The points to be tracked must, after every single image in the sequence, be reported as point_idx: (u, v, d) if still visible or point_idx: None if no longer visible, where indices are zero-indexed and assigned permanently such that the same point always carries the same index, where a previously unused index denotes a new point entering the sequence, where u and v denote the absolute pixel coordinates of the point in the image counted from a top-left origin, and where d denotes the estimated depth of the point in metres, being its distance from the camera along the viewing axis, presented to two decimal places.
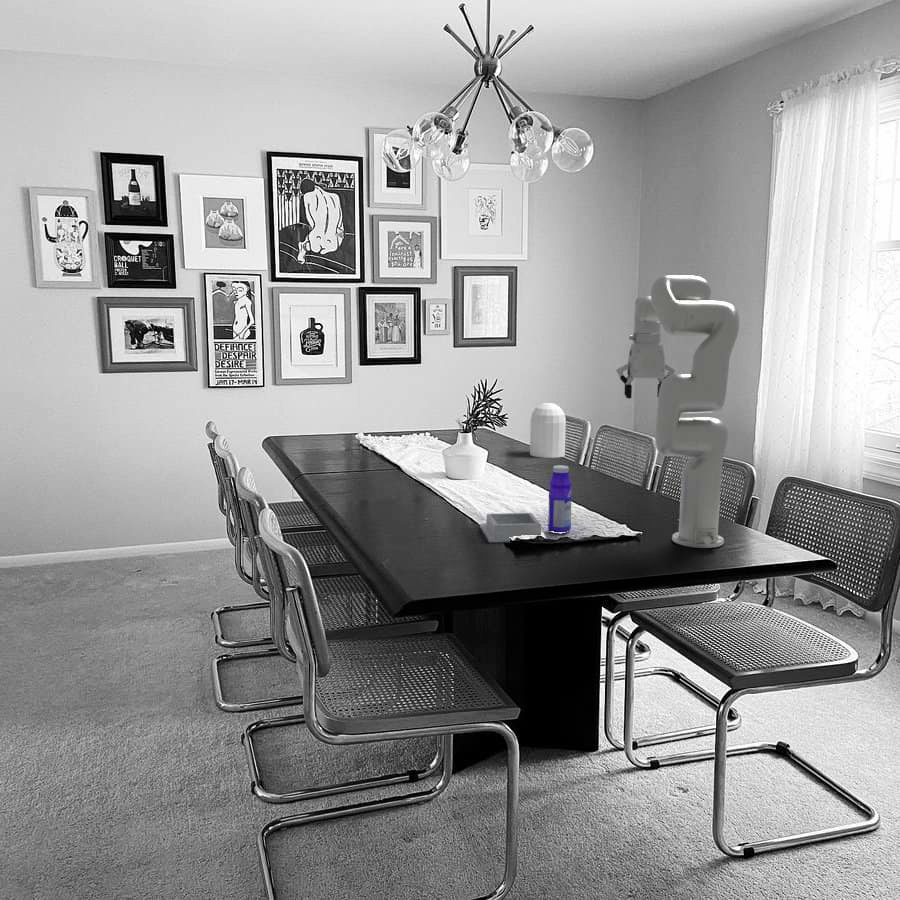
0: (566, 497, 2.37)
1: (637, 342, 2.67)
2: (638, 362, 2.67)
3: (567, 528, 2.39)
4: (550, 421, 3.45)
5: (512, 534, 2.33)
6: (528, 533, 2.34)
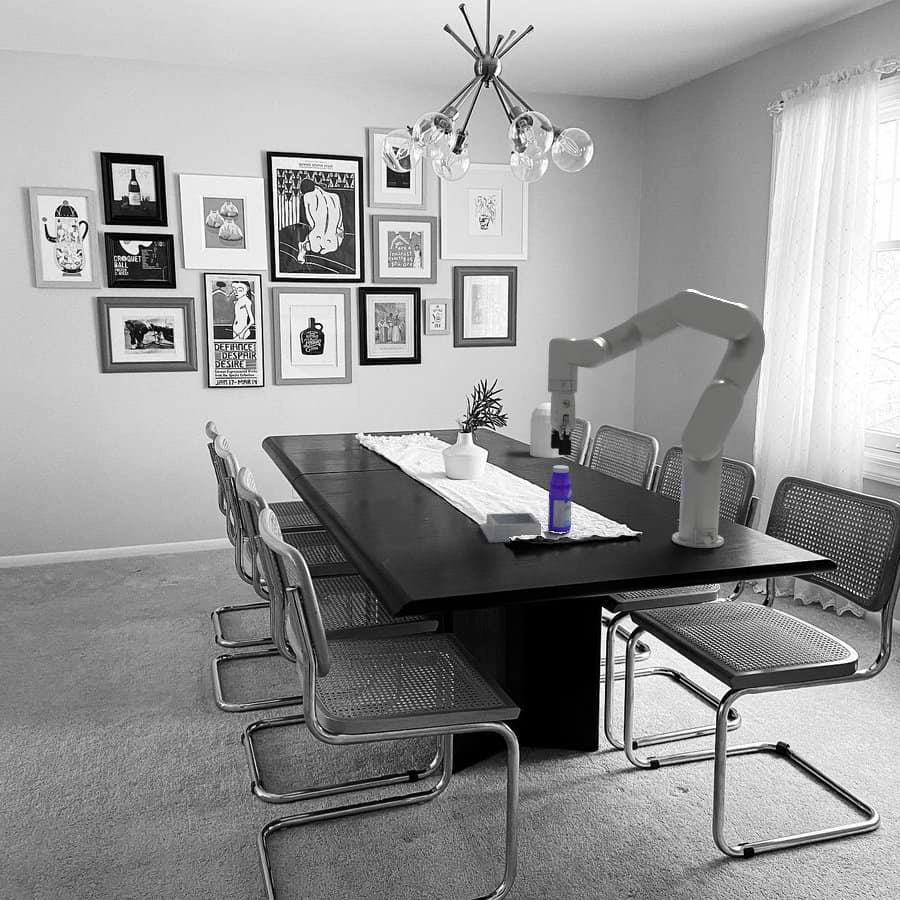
0: (566, 497, 2.37)
1: (571, 390, 2.35)
2: None
3: (567, 528, 2.39)
4: None
5: (512, 534, 2.33)
6: (528, 533, 2.34)
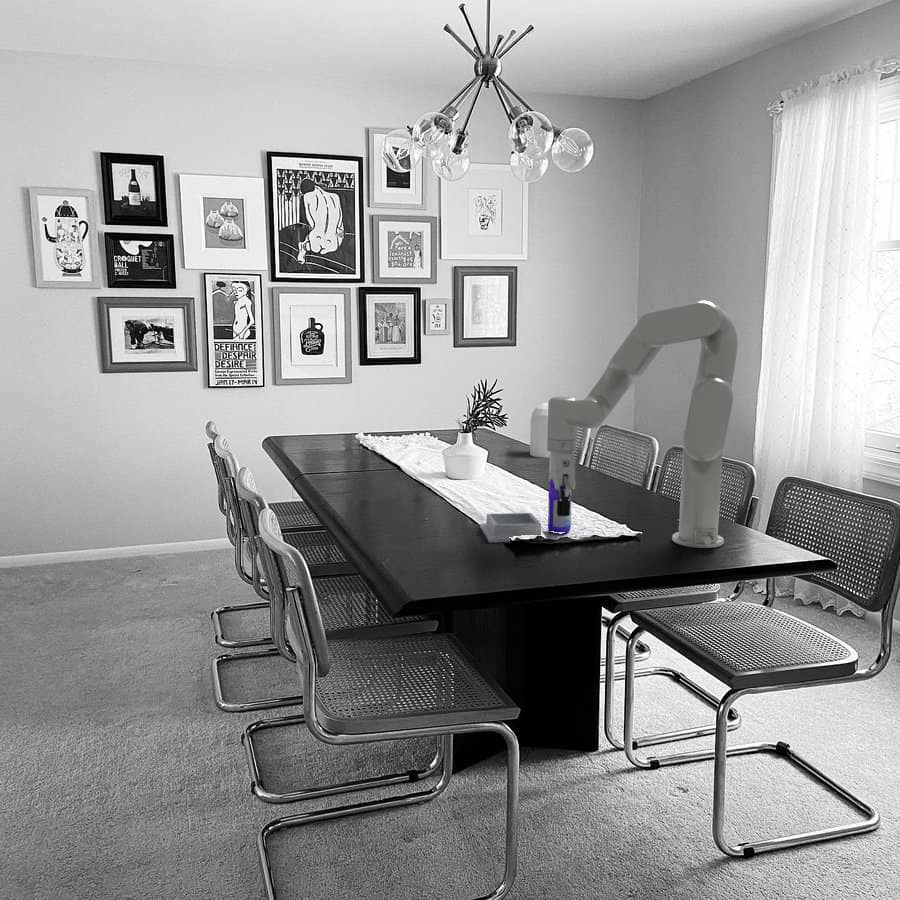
0: None
1: (570, 450, 2.35)
2: None
3: (567, 528, 2.39)
4: None
5: (512, 534, 2.33)
6: (528, 533, 2.34)
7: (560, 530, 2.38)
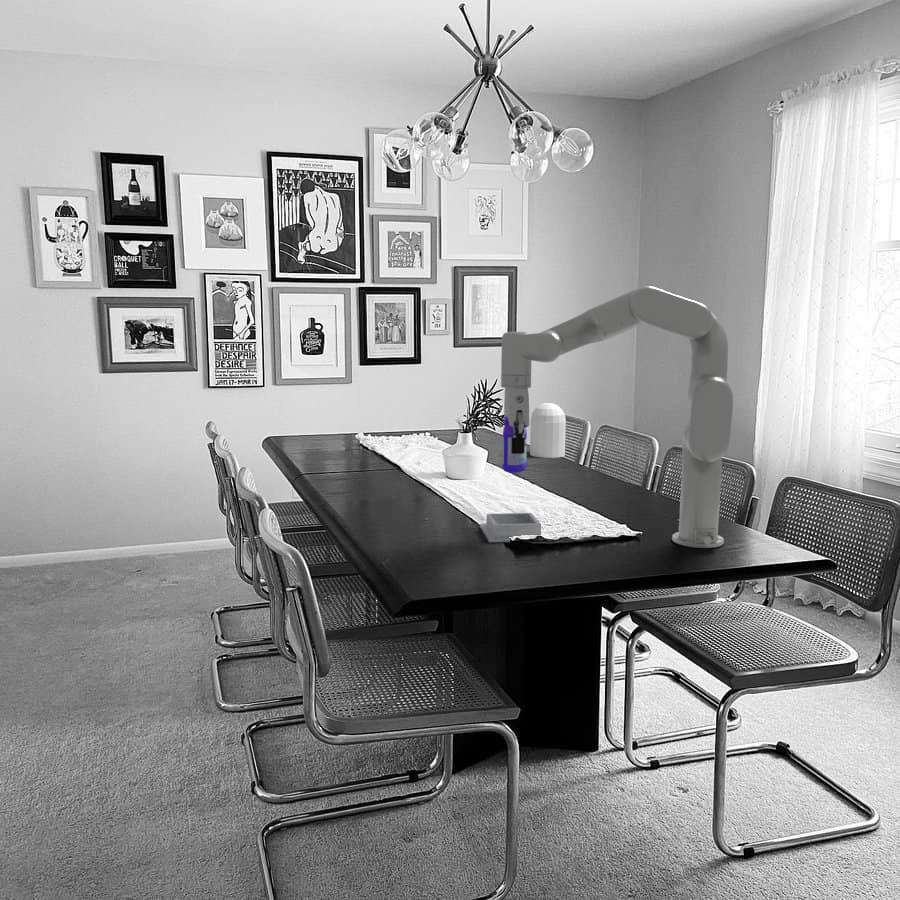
0: None
1: (524, 385, 2.30)
2: None
3: (522, 466, 2.34)
4: (550, 421, 3.45)
5: (512, 534, 2.33)
6: (528, 533, 2.34)
7: (515, 468, 2.33)
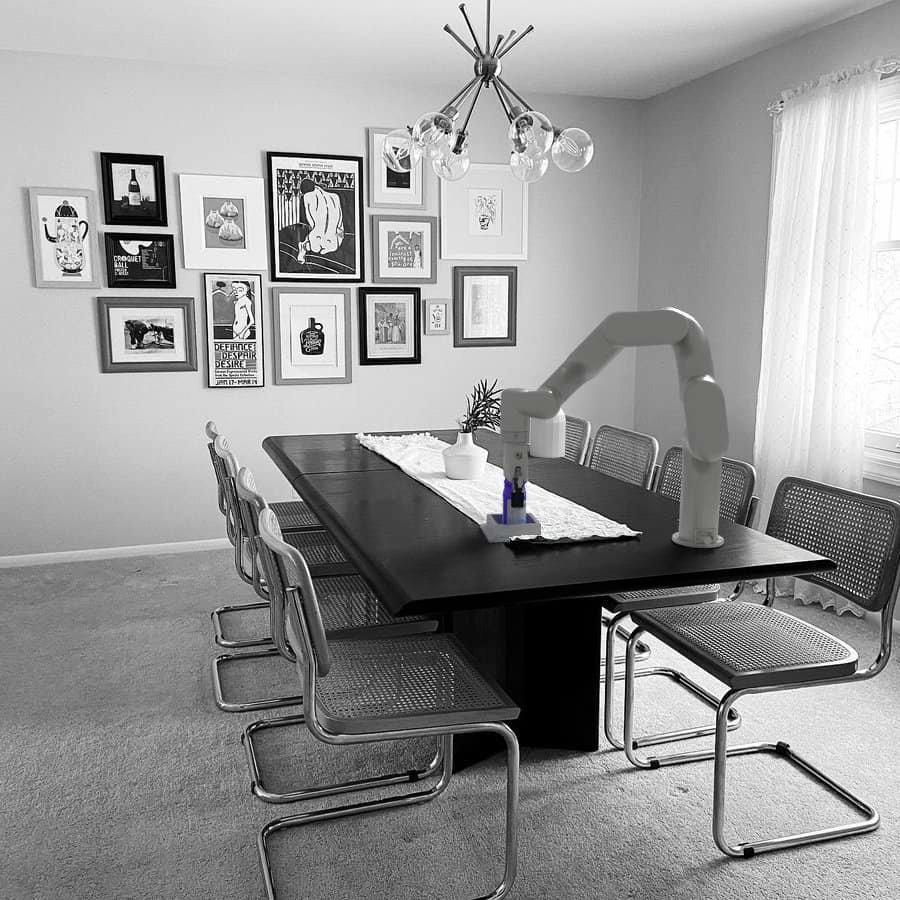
0: None
1: (523, 442, 2.32)
2: None
3: None
4: (550, 421, 3.45)
5: (512, 534, 2.33)
6: (528, 533, 2.34)
7: None
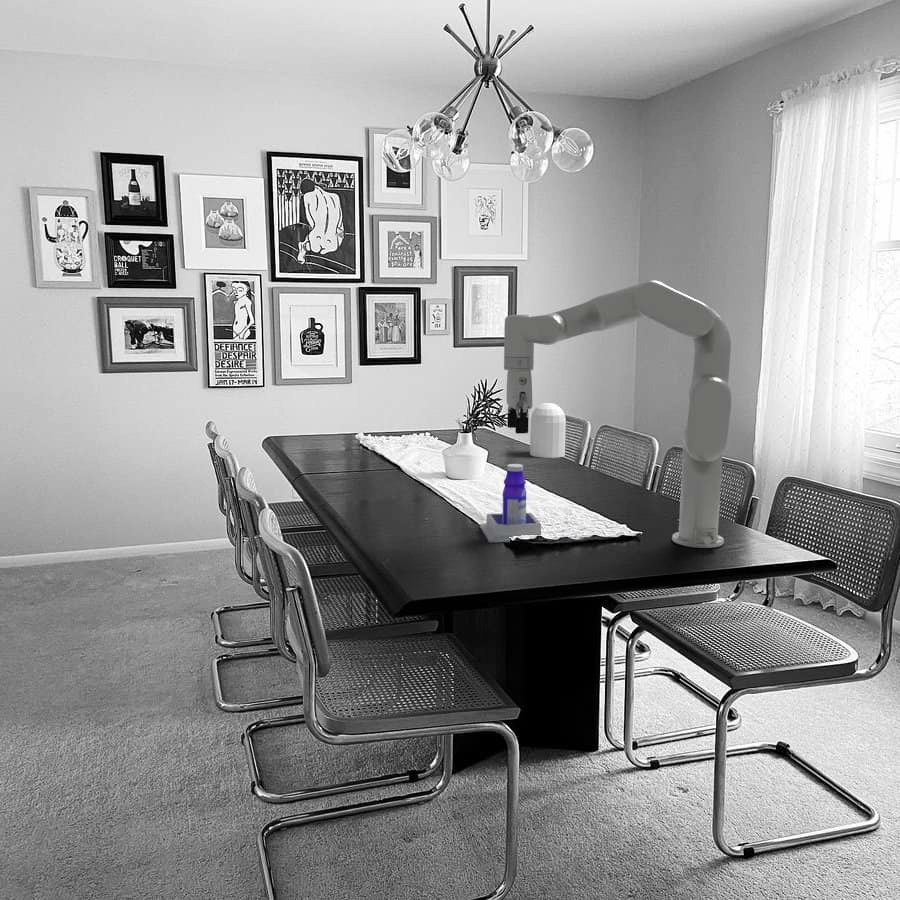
0: (520, 496, 2.34)
1: (527, 368, 2.32)
2: None
3: None
4: (550, 421, 3.45)
5: (512, 534, 2.33)
6: (528, 533, 2.34)
7: None
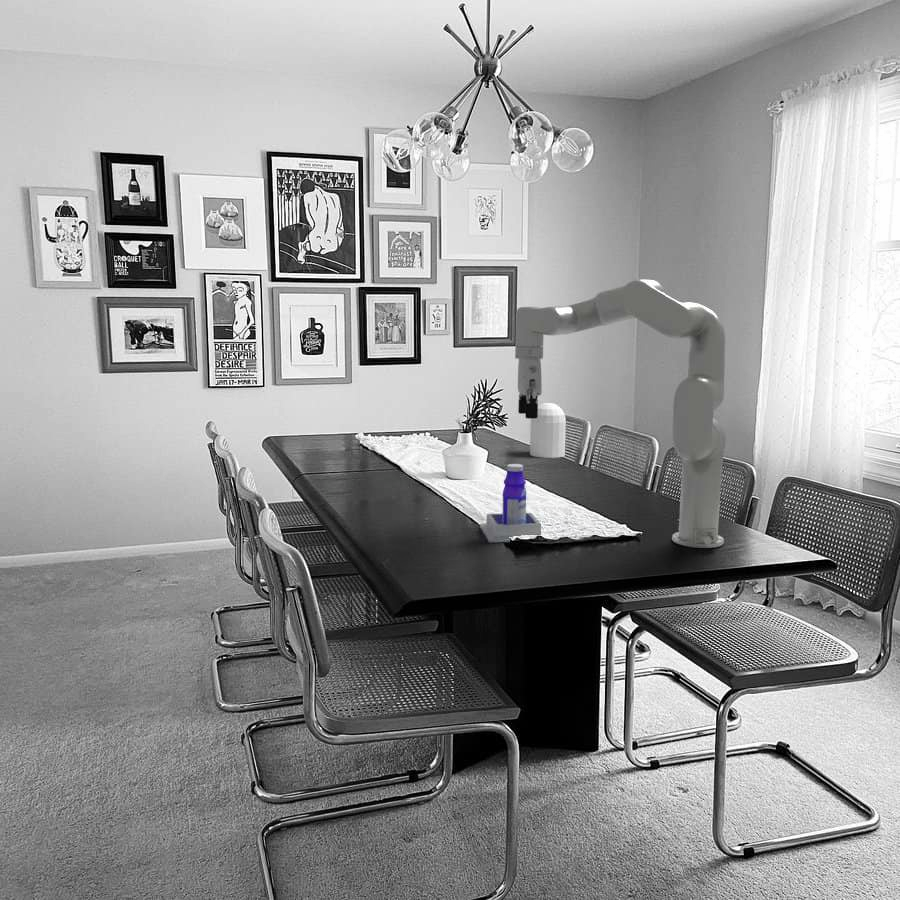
0: (520, 496, 2.34)
1: (537, 356, 2.47)
2: None
3: None
4: (550, 421, 3.45)
5: (512, 534, 2.33)
6: (528, 533, 2.34)
7: None
